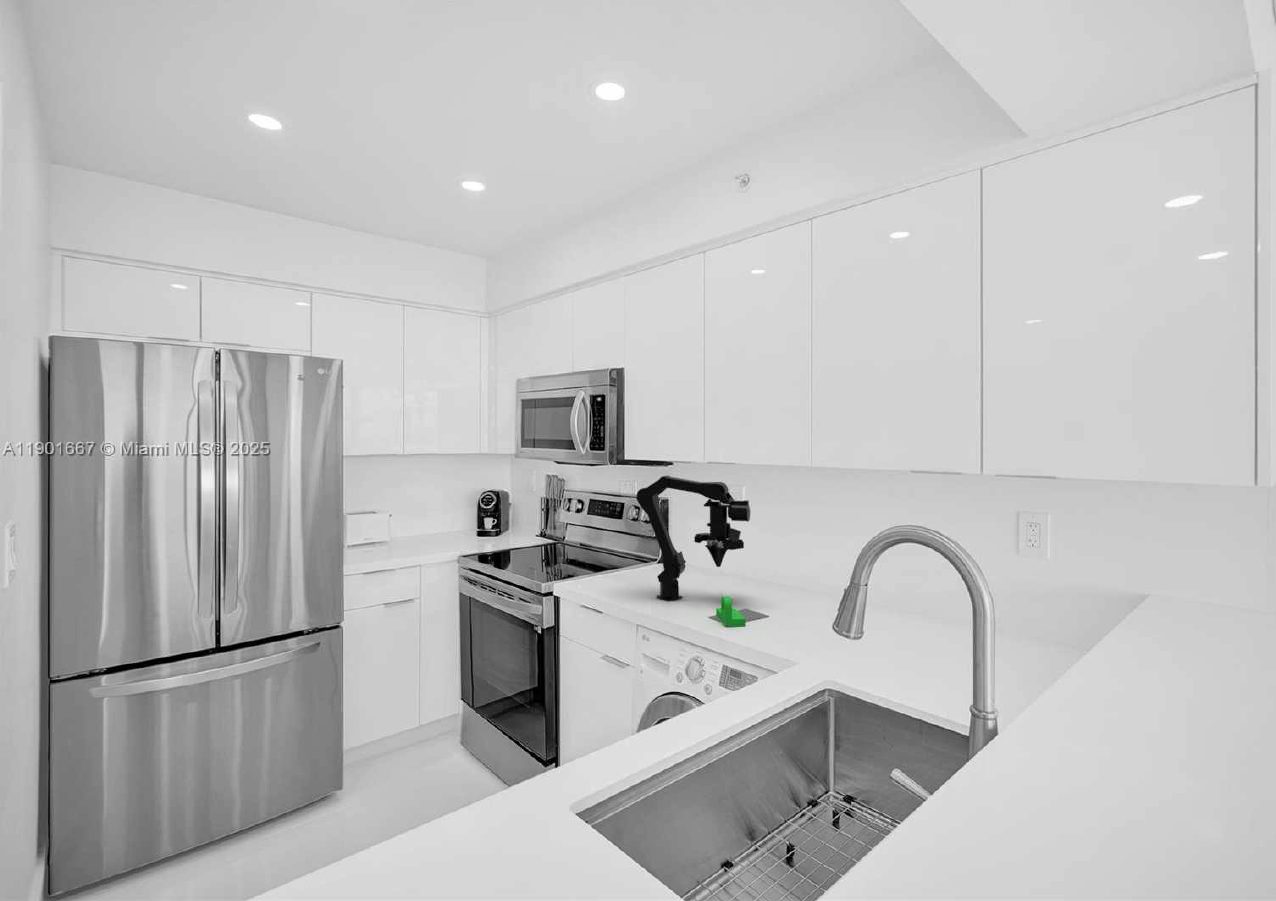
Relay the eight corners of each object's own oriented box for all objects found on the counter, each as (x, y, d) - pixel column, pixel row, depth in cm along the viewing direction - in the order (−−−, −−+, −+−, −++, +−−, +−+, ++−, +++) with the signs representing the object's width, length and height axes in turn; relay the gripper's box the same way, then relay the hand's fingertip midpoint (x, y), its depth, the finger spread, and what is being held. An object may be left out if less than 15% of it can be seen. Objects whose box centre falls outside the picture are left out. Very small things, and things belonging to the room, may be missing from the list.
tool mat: (708, 617, 190) (708, 616, 190) (746, 609, 199) (746, 608, 199) (730, 625, 182) (730, 625, 182) (769, 616, 191) (769, 615, 191)
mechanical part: (745, 625, 181) (745, 598, 181) (725, 626, 181) (725, 599, 180) (735, 613, 193) (735, 588, 193) (716, 614, 193) (716, 588, 192)
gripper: (756, 521, 203) (756, 568, 204) (717, 515, 219) (717, 559, 219) (730, 524, 197) (730, 573, 197) (693, 517, 212) (693, 563, 213)
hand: (718, 566), depth 207 cm, fingers closed
